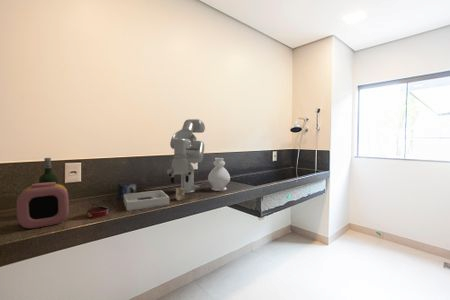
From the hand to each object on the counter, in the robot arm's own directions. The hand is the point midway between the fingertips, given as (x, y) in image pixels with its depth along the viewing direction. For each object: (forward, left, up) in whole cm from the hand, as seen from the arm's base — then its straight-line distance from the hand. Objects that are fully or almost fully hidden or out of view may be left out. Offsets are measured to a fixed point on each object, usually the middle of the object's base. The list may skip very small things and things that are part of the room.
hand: (179, 182), depth 149 cm
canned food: (+48, +8, -12) cm, 50 cm away
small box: (+31, -20, -12) cm, 38 cm away
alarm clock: (+70, +10, -12) cm, 71 cm away
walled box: (+22, -1, -11) cm, 24 cm away
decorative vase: (-37, -15, -12) cm, 42 cm away
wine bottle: (+71, -7, -12) cm, 72 cm away
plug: (0, -1, -11) cm, 11 cm away
